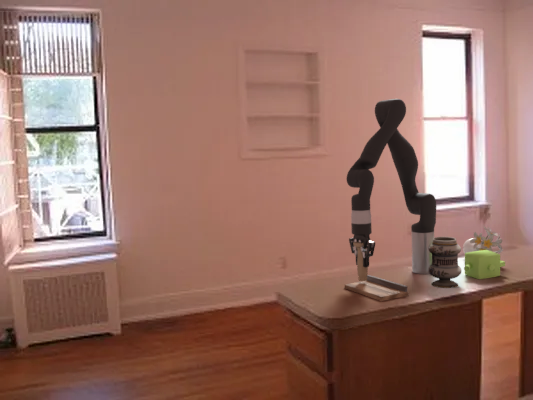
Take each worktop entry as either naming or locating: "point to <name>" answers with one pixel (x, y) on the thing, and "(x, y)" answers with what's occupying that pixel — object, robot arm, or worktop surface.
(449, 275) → the apothecary jar
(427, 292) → the worktop surface
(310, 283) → the worktop surface
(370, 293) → the board
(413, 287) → the worktop surface
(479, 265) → the gearbox
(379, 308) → the worktop surface
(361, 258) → the handle
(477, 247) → the flower vase
